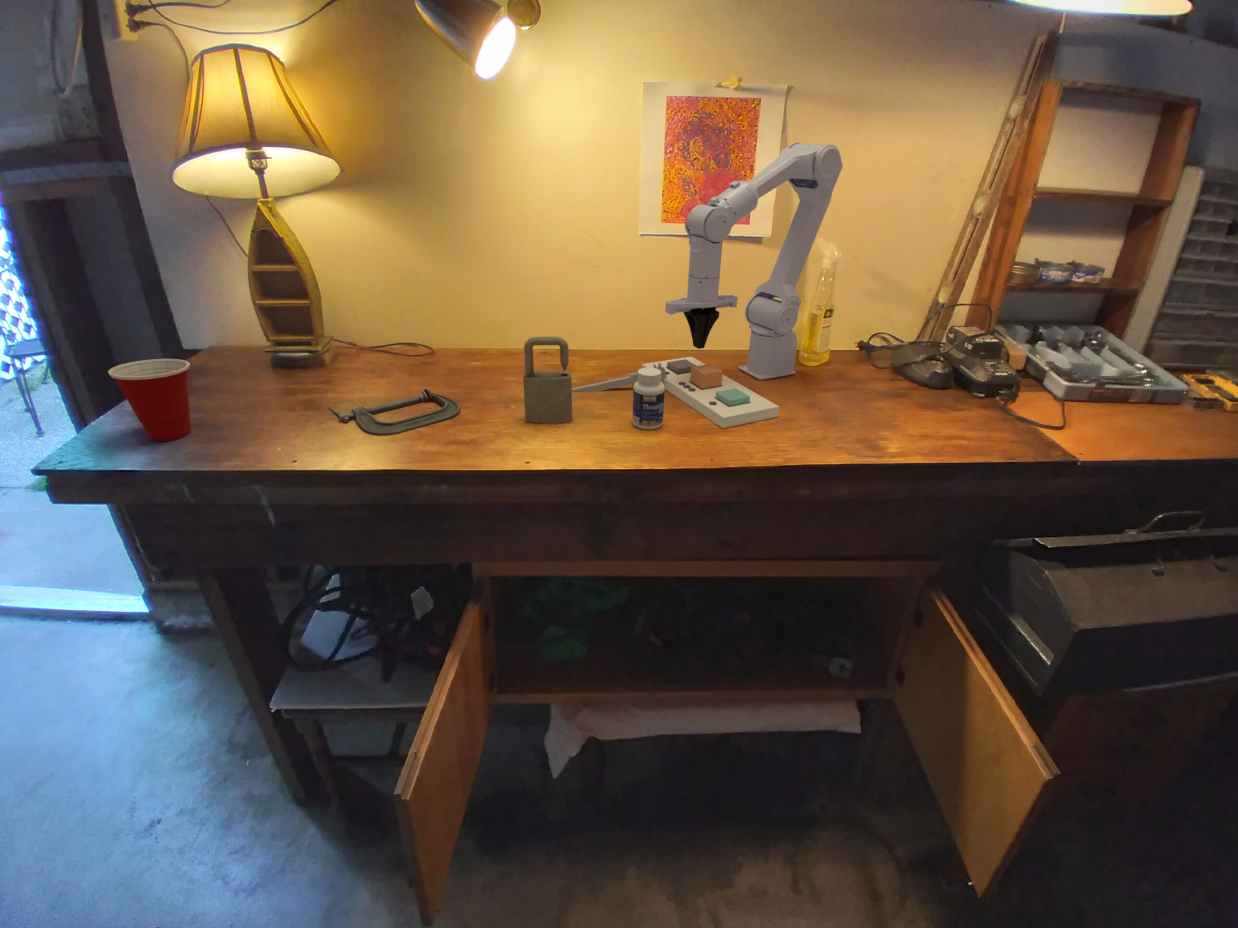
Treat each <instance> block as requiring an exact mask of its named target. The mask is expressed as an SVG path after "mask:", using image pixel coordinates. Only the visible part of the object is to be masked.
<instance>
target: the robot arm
mask: <svg viewBox="0 0 1238 928" xmlns="http://www.w3.org/2000/svg"><path fill="white" fill-rule="evenodd" d="M843 166H844V165H843V161H842V157H841V152H840V150H839V148H838V147H837V146H836V145H834V144H811V143H801V142H793V143H790V144H789V145H788V146H787V147H785V148H783V149H781V150H780V151H779V155H778V157H777V158H775V159H774V160H773V161H772V162H771V163H769V164H768V165H767V166H765V167H764V168H763V169H762V170H761V171H760V172H758V173H757V174H756V175H755V176H753V178H751V179H750V180H749V181H745V180H733V181H731V182H730V183H729V184H728V186H729V187H728V188H727V189H726V190H724V191H722V192H721V193H719V195H716V196H712V197H711V198H710V199H709V201H708V202H707V204H698V205H696V206H694V207H693V208H692V210H691V211H690V212H689V213H688V215H687V218H686V220H685V221H684V229H685V232H686V234H687V235H688V245H689V263H688V276H687V277H688V278H687V291H686V292H687V294H686V297H682V298H679V299H675V300H669V301H665V311H664V312H665V313H667V314H669V315H671V316H672V315H675V314H678V313H683V315H684V317H685V319H686V322H687V324H688V327H689V331H690V334H691V339H692V346H693V347H694V348H696V349H698V350H699V349H704V348H705V346H706V343H707V341H708V337H709V335H710V333H711V331H712V329H713V327H714V325H715V323H716V322H717V320H718V319H719V318H720V312H719V311H718V310H717V309H723V308H729V307H730V308H737V307H738V296H736V295H733V294H726V295H725V294H723V295H719V289H720V288H719V287H720V277H721V276H720V275H721V274H720V273H721V266H722V265H721V263H722V254H723V253H722V252H723V242H724V241H723V240H726V239H727V238H728V237H729V235H730V233H731V230H732V228H733V227H734V226H735V224H736V223H738V222H740V221H741V220H742V219H743V218H745V217H746V216H747V215H749V214H750V213H752V212H753V211H754V210H756V208H757V206H758V204H759V203H758V202H759V199H761V197H763V196H765V195H767V194H768V193H770V192H771V191H773V190H774V189H776V188H778V187H779V186H781V185H782V184H784V183H785V182H788V183H789V185H790V186H791V188H792V189H793V191H794V192H795V193H796V194H797V197H798V199H799V202H798V204H797V206H796V207H797V208H796V210H795V213H794V214H793V218H792V221H791V222H790V225H789V227H788V231H787V233H786V235H785V238H784V241H783V244H782V246H781V248H780V251H779V254H778V256H777V259H776V261H775V264H774V266H773V269H772V272H771V274H770V277H769V278H768V280H766V281H764V282H763V283H761V284H760V285H758V286H757V287H756V289H755V291H754V293H753V295H752V297H750V298H749V300H748V302H746V305H745V310H744V317H745V319H746V321H747V322H748V324H749V325H748V329H750V337H749V345H748V346H749V347H748V355H747V364H744V365H743V364H742V365H738V367H737V368H738V369H739V370H740V371H741V372H744V373H746V374H748V375H750V376H751V377H753V378H755V379H757V380H759V381H764V380H770V379H774V378H781V377H786V376H792V375H795V374H796V370H795V362H796V357H797V349H798V338H797V335H796V334H795V332H794V331H793V329H794V328H795V326H796V325H797V322H798V318H799V309H800V307H801V304H802V299H801V298H800V295H799V294H798V293H797V290H796V287H797V284H798V282H799V279H800V277H801V275H802V272H803V269H804V266H805V264H806V262H807V260H808V257H809V255H810V253H811V249H812V247H813V245H814V242H815V240H816V238H817V234H818V232H819V230H820V227H821V226H822V222H823V221H824V218H825V215H826V213H827V211H828V208H829V206H830V202H831V201H832V200H831V199H832V195H833V192H834V189H835V186H836V184H837V181H838V180H839V177H840V174H841V172H842V170H843ZM776 298H777V299H776ZM779 299H781V300H779Z"/></svg>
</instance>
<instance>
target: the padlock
mask: <svg viewBox="0 0 1238 928" xmlns="http://www.w3.org/2000/svg"><path fill="white" fill-rule="evenodd" d="M534 346H559V357H560V358H559V361H560V365H561V368H562V370H563V371H560V370H542V371H541V370H538V371H537V370H536V371H535V369H534V368H535V367H534V351H533V350H534V349H533V348H534ZM569 351H570V350H569V345H568V341H567V340H566V339H564V338H563V337H560V336H533V337H529V338H528V339H527V340H526V341H525V343H524V346H523V352H524V353H523V354H524V368H525V369H524V371H525V372H523V376H522V383H523V396H524V397H523V398H524V419H525V422H526V423H531V424H532V423H534V424H563V423H568V422H570V423H571V422H573V394H572V393H573V392H572V388H573V387H572V385H573V384H572V382H573V381H572V379H573V378H572V372H570V371H568V372H567V368H568V365H569V363H570V359H569V358H570V356H569Z"/></svg>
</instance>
